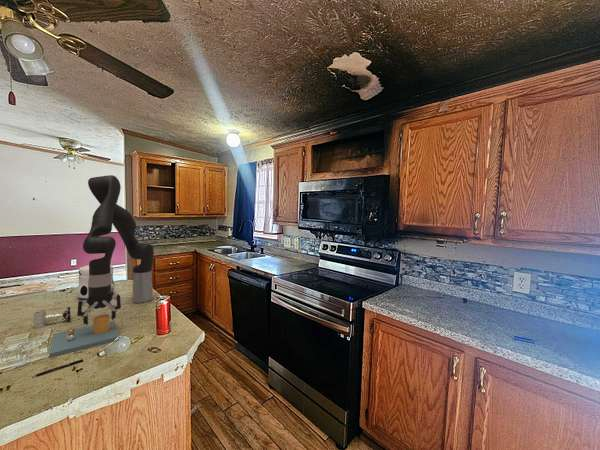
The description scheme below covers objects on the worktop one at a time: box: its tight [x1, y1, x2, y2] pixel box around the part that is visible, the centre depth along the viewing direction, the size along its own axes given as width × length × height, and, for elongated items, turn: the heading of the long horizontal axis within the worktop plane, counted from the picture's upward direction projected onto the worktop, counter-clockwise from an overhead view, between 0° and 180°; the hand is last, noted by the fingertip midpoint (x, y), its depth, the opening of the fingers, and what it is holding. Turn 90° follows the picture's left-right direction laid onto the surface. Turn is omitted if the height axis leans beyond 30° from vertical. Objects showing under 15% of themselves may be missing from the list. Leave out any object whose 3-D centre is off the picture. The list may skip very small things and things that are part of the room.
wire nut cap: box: [92, 313, 110, 334], centre depth 106 cm, size 5×5×6 cm
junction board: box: [48, 320, 119, 358], centre depth 103 cm, size 20×18×2 cm
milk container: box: [76, 263, 116, 300], centre depth 148 cm, size 17×17×18 cm
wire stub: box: [67, 328, 76, 341], centre depth 99 cm, size 3×3×4 cm
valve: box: [32, 306, 71, 329], centre depth 114 cm, size 7×7×12 cm
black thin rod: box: [31, 358, 84, 379], centre depth 84 cm, size 12×1×1 cm, turn 139°
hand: (99, 321), depth 106 cm, fingers open, 8 cm apart
